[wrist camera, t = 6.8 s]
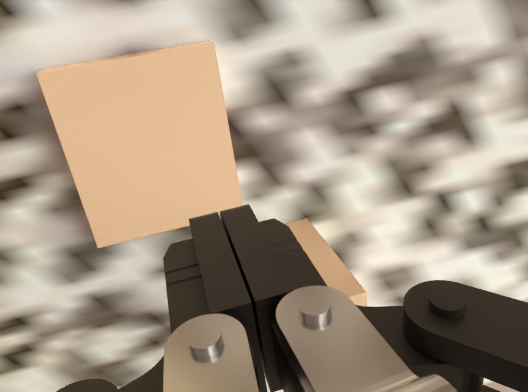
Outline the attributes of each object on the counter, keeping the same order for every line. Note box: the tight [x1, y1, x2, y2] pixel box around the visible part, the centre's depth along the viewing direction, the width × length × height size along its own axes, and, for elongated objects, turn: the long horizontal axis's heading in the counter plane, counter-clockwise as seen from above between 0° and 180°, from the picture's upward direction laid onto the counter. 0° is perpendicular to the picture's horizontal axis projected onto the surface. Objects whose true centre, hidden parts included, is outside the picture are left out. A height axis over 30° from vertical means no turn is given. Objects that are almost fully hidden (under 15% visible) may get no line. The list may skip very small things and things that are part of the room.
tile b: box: [285, 219, 367, 307], centre depth 23 cm, size 8×2×7 cm, turn 8°
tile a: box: [36, 41, 242, 248], centre depth 20 cm, size 8×2×7 cm
